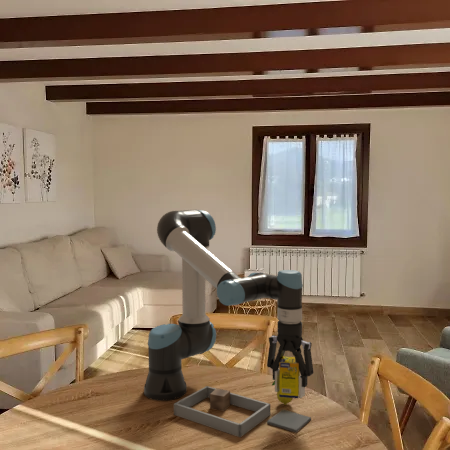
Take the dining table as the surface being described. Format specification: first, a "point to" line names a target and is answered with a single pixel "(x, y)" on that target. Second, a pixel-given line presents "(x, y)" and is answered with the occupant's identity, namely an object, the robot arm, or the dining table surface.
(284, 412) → the slate coaster
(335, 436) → the dining table surface
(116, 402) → the dining table surface
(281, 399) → the lemon
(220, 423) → the grey bin
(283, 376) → the supplement box
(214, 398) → the walnut block
